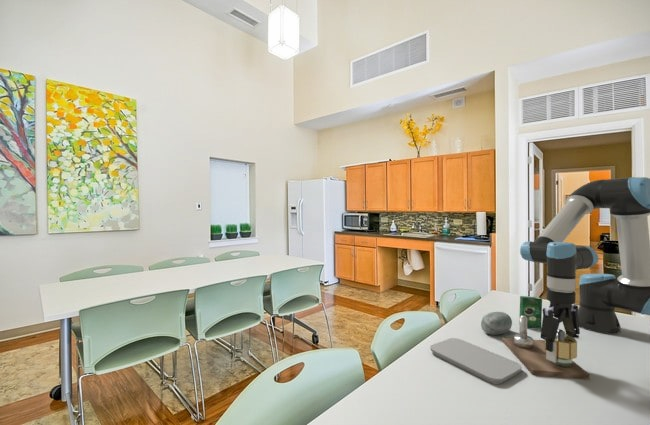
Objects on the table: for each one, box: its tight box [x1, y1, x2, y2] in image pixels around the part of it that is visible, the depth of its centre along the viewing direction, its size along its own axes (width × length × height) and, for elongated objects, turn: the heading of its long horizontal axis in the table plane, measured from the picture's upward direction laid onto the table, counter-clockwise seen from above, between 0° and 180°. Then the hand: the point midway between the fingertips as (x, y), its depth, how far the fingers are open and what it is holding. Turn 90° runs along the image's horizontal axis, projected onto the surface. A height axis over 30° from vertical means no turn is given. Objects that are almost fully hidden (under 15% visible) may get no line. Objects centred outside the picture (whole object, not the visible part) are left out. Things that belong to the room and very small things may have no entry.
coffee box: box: [518, 295, 543, 329], centre depth 134 cm, size 8×3×13 cm, turn 79°
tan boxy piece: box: [545, 334, 578, 360], centre depth 100 cm, size 8×8×5 cm
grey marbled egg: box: [480, 311, 513, 336], centre depth 129 cm, size 14×10×10 cm
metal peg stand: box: [549, 328, 573, 368], centre depth 100 cm, size 6×6×11 cm
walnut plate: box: [501, 337, 591, 380], centre depth 107 cm, size 16×24×2 cm, turn 170°
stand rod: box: [513, 315, 534, 349], centre depth 113 cm, size 6×6×11 cm
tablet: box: [429, 337, 523, 385], centre depth 105 cm, size 16×26×2 cm, turn 31°
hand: (560, 358), depth 100 cm, fingers closed on tan boxy piece, 8 cm apart
